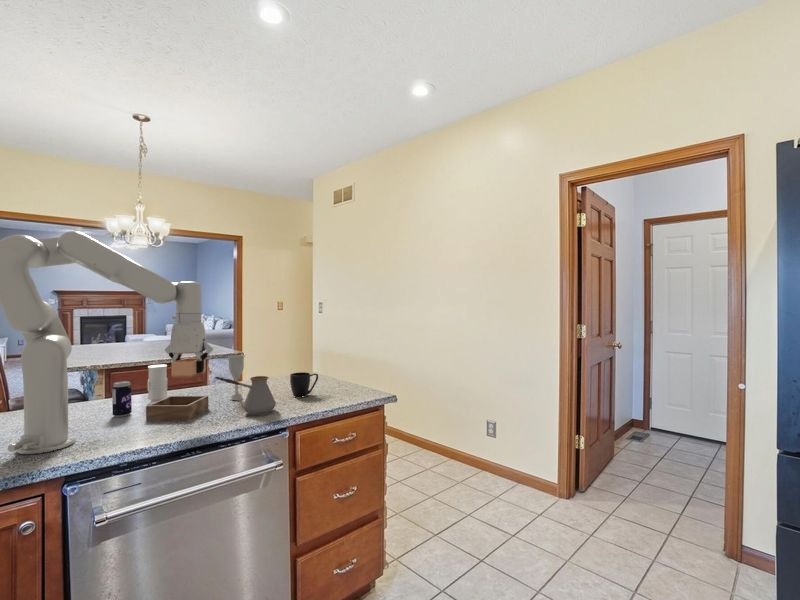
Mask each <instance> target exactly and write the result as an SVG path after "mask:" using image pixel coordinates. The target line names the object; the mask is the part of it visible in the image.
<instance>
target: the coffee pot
mask: <svg viewBox="0 0 800 600" xmlns="http://www.w3.org/2000/svg"><path fill="white" fill-rule="evenodd" d="M268 379H269V376H267V375H258V376H252V377H250V378H249V380H250V381H251V385H250V384H245V383H242V382H239V381H238V382H236V381H235V380H233V379H230V378H224V377H220V376H215V377H214V378H213V381H212V382H213V383H215V382H216V381H217V380H219V381H221V382H222V381H223V382H225V383H227V384H233V385H235V384H236V385H238V386H242V387H246V388H248V389H249V390H248V393H247V395H246V397H245V400H244V403H243V405H242V408H243V410H244V411H245V412H246V413H248V415H250V416H263V415H268V414H270V413H271V412H270V411H273V410H274V409H275V407H276V405H277V403H276V401H275V398H274V396H273V394H272V392H271V389H270V388H269V385H268Z"/></svg>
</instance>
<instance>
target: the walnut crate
mask: <svg viewBox="0 0 800 600" xmlns="http://www.w3.org/2000/svg"><path fill="white" fill-rule="evenodd" d="M205 410H206V411H207V410H209V395H169V396H167V398H164V399H162V400H160V401H157V402H155V403H152V404H150V403H149V404H148V405H146V406H145V420H159V421H189V419H190V420H191V419H193V418H195V417H196V416H199V415H200V414H202V413H204V412H205ZM203 411H204V412H203Z"/></svg>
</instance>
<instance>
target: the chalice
mask: <svg viewBox="0 0 800 600" xmlns="http://www.w3.org/2000/svg"><path fill="white" fill-rule="evenodd" d="M245 357H246V356H245V355H242V354H236V355H235V354H234V355H229V356H227V359H228V370H229V373H230V376H231V377H232V379H234V381H236V382H239V381H238V380H239V379H240V378H241V376H242V373H243V371H244V369H245V363H244V362H245V359H244V358H245ZM238 390H239V385H236V384H234V393H232V394H231V397H230V401H231V400H239V401H242V400H244V398H243V395H242V394H241V393H240V392H239V391H238ZM241 399H242V400H241Z"/></svg>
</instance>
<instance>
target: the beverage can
mask: <svg viewBox="0 0 800 600" xmlns="http://www.w3.org/2000/svg"><path fill="white" fill-rule="evenodd" d="M112 385H113V386H112V389H111V390H112V391H111V392H112V399H111V401H112V405H111V406H112V416H114V417H115V418H124V417H123V416H125V417H128V416H129V415H130V414H131V413H132V410H133V409H132V402H133V401H132V384H131V382H130V381H129V380H124V381H123V380H122V381H116V382H113V384H112ZM127 415H128V416H127Z"/></svg>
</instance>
